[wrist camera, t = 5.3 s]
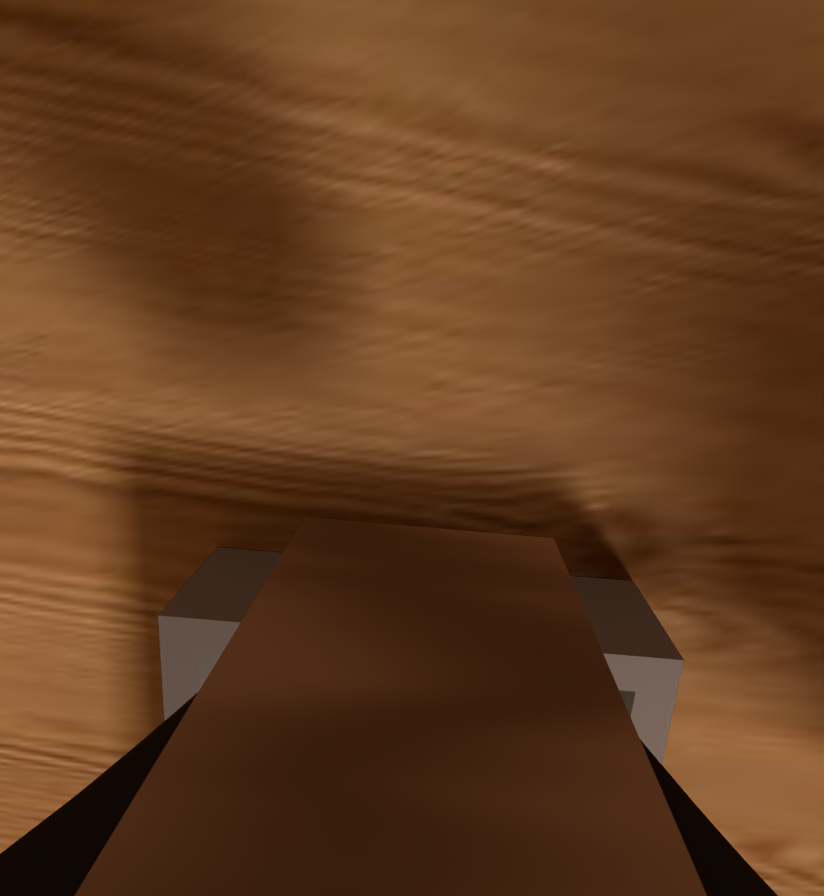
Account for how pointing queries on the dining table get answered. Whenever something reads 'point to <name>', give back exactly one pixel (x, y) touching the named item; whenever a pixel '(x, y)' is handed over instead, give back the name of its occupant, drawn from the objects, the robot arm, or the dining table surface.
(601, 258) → the dining table surface
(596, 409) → the dining table surface
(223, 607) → the open box
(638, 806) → the wooden peg
